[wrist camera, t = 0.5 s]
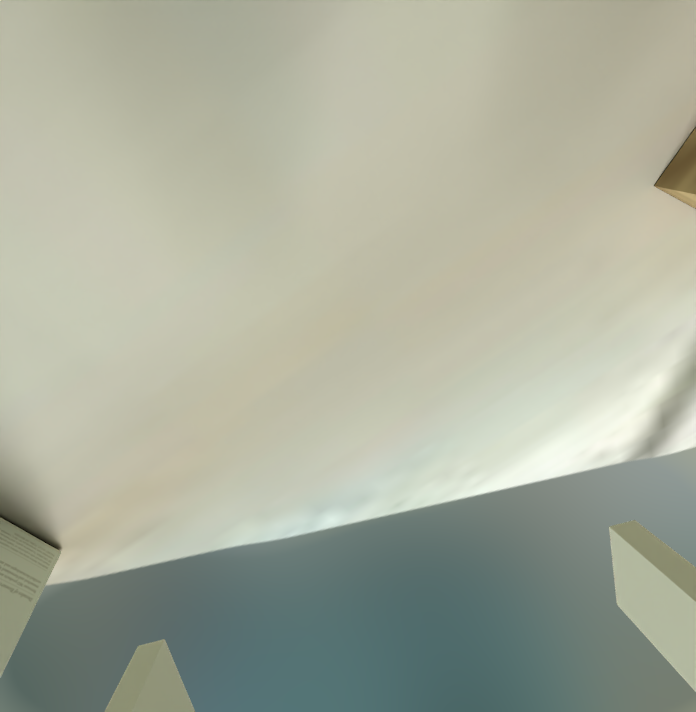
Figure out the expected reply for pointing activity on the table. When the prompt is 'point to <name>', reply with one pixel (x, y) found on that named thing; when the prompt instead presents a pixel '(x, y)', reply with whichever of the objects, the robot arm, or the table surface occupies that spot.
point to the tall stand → (682, 174)
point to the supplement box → (20, 582)
